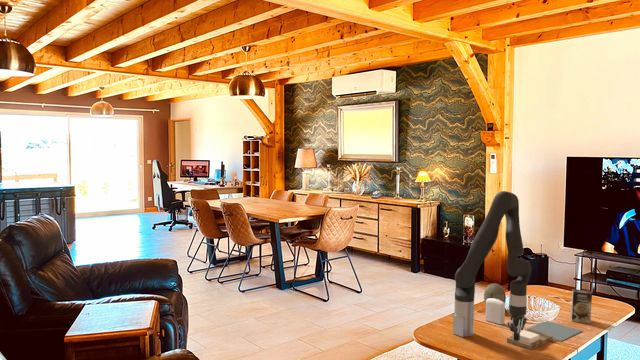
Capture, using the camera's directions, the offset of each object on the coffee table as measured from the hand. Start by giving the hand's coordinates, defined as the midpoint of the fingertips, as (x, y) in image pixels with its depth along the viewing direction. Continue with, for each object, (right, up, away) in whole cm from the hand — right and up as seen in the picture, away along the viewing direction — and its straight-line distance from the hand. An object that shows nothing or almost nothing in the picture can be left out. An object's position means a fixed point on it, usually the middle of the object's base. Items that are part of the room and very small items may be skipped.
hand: (516, 340), depth 241 cm
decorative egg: (+8, +1, +54) cm, 55 cm away
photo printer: (+1, -1, +34) cm, 34 cm away
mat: (+27, -2, +21) cm, 34 cm away
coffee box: (+48, -1, +36) cm, 60 cm away
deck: (+9, -3, +8) cm, 12 cm away
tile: (+6, -1, +5) cm, 8 cm away
